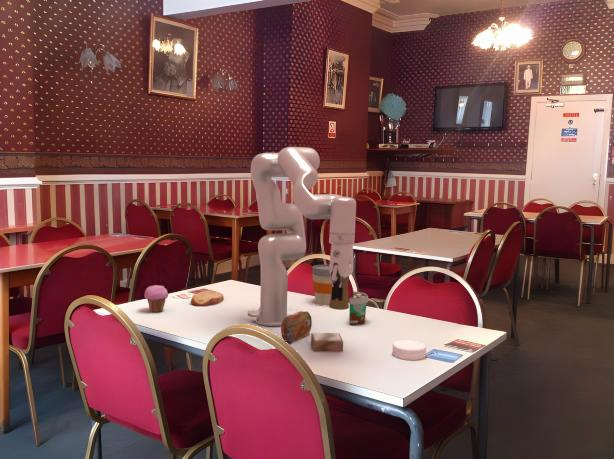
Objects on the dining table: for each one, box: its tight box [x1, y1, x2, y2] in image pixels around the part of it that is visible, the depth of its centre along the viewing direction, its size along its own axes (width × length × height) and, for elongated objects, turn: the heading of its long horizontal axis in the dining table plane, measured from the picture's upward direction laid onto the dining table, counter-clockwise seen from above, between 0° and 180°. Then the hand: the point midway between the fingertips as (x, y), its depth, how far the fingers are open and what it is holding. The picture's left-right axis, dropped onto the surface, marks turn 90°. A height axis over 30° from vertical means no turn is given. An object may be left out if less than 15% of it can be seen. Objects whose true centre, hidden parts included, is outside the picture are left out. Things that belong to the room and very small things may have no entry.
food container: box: [348, 291, 369, 326], centre depth 212 cm, size 12×6×10 cm, turn 168°
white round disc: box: [392, 339, 427, 361], centre depth 177 cm, size 10×10×4 cm
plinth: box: [310, 332, 344, 352], centre depth 183 cm, size 9×9×3 cm
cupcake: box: [144, 284, 169, 313], centre depth 223 cm, size 9×9×10 cm
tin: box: [280, 310, 313, 343], centre depth 191 cm, size 15×3×8 cm, turn 148°
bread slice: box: [190, 289, 225, 308], centre depth 242 cm, size 18×18×4 cm
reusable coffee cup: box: [311, 264, 332, 306], centre depth 241 cm, size 13×13×15 cm
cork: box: [328, 275, 350, 311], centre depth 177 cm, size 6×6×11 cm
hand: (339, 297), depth 178 cm, fingers closed on cork, 4 cm apart
